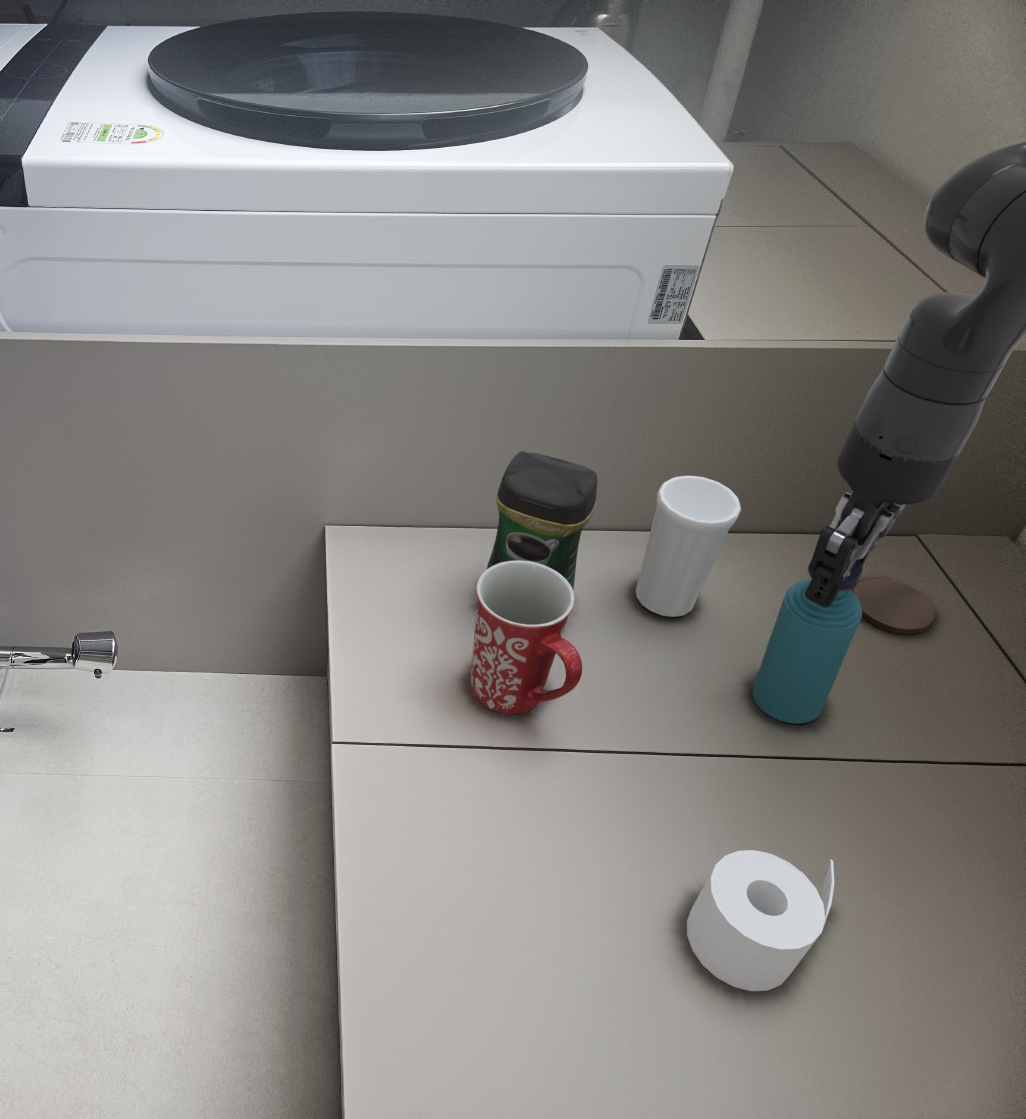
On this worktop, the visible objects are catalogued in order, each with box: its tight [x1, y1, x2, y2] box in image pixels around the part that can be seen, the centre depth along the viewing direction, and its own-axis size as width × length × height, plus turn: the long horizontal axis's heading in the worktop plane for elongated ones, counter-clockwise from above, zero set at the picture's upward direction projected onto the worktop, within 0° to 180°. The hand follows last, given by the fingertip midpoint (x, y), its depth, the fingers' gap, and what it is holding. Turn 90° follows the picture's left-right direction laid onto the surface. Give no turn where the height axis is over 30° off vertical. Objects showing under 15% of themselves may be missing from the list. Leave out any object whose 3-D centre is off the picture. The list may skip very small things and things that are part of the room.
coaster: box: [852, 577, 935, 635], centre depth 106 cm, size 8×8×1 cm
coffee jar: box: [485, 450, 598, 591], centre depth 102 cm, size 10×8×19 cm
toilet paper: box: [686, 849, 835, 992], centre depth 77 cm, size 8×11×7 cm
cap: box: [807, 559, 864, 591], centre depth 85 cm, size 4×4×2 cm
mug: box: [469, 561, 583, 715], centre depth 93 cm, size 13×9×14 cm
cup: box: [635, 475, 742, 618], centre depth 103 cm, size 8×8×14 cm
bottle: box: [751, 577, 862, 724], centre depth 91 cm, size 6×6×17 cm
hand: (829, 588), depth 87 cm, fingers closed on cap, 4 cm apart
